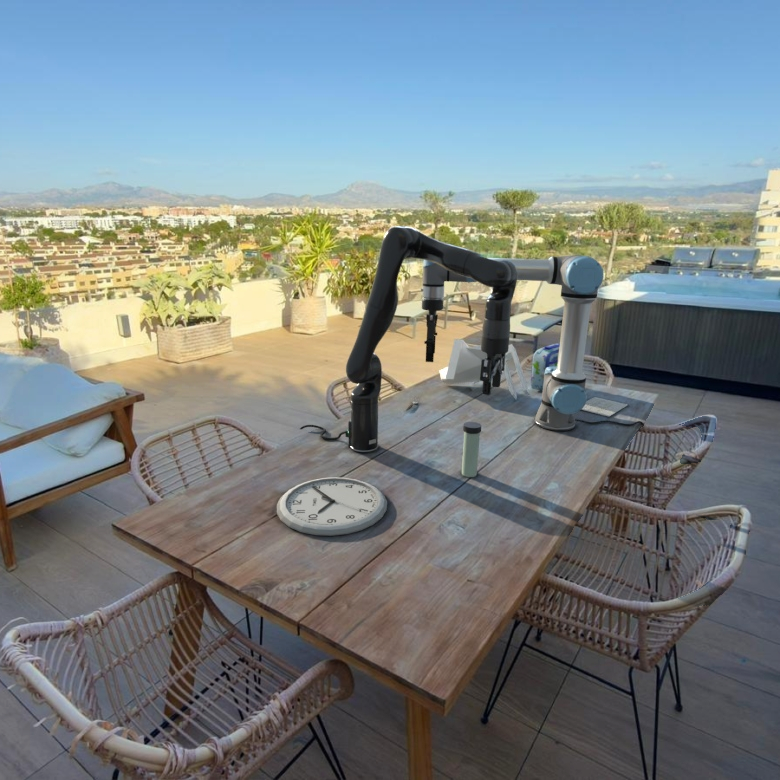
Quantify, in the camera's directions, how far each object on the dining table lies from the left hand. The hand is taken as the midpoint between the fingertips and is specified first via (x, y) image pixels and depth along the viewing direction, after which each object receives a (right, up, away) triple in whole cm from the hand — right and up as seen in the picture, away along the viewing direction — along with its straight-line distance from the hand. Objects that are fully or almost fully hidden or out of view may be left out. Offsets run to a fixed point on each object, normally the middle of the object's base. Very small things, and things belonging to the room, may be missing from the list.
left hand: (491, 390), depth 149 cm
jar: (-4, -26, +13) cm, 29 cm away
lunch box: (+49, +1, +103) cm, 114 cm away
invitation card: (+63, -7, +77) cm, 99 cm away
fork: (-19, -7, +73) cm, 76 cm away
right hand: (-14, +12, +40) cm, 44 cm away
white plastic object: (+13, -1, +94) cm, 95 cm away
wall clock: (-45, -31, -6) cm, 55 cm away
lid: (-4, -11, +9) cm, 14 cm away
